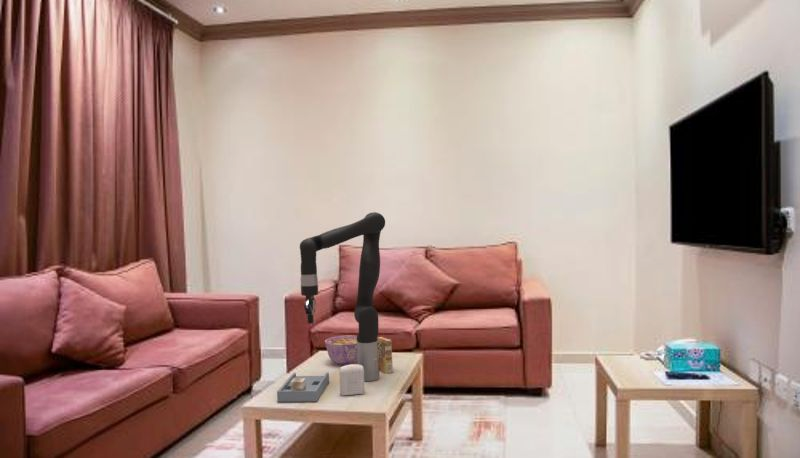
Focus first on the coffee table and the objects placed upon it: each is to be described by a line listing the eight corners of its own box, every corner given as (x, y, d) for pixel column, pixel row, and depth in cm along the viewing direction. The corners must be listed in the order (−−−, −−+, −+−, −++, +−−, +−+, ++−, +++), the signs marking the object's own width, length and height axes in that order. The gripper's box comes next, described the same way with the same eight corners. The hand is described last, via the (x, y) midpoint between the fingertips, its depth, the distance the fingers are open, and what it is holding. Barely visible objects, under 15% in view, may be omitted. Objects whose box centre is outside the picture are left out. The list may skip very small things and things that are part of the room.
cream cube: (306, 390, 241) (305, 378, 241) (303, 394, 236) (302, 381, 236) (294, 390, 242) (293, 378, 242) (290, 394, 237) (290, 382, 237)
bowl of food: (356, 369, 280) (355, 345, 280) (318, 367, 286) (317, 343, 286) (371, 358, 299) (370, 336, 299) (335, 356, 305) (334, 334, 305)
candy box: (393, 372, 274) (392, 339, 273) (385, 373, 271) (384, 341, 271) (383, 368, 281) (382, 336, 280) (375, 369, 279) (374, 337, 278)
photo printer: (363, 391, 247) (362, 362, 247) (365, 394, 243) (364, 364, 243) (339, 393, 245) (338, 364, 244) (340, 396, 241) (339, 367, 240)
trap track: (329, 382, 261) (328, 372, 261) (316, 402, 235) (316, 391, 235) (293, 382, 262) (293, 372, 262) (277, 402, 236) (277, 391, 236)
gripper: (314, 286, 252) (315, 326, 252) (320, 282, 265) (322, 320, 266) (297, 286, 252) (298, 326, 253) (304, 282, 265) (306, 320, 266)
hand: (310, 323), depth 259 cm, fingers closed
